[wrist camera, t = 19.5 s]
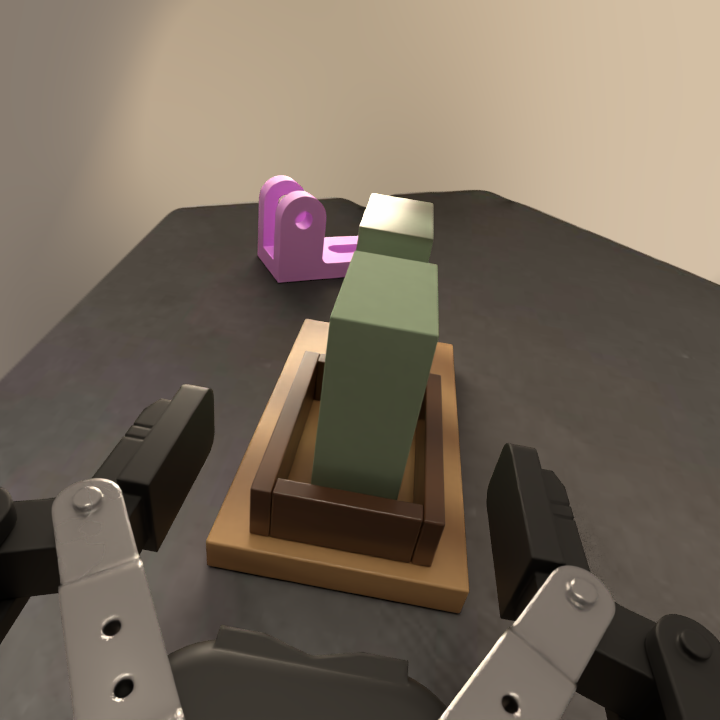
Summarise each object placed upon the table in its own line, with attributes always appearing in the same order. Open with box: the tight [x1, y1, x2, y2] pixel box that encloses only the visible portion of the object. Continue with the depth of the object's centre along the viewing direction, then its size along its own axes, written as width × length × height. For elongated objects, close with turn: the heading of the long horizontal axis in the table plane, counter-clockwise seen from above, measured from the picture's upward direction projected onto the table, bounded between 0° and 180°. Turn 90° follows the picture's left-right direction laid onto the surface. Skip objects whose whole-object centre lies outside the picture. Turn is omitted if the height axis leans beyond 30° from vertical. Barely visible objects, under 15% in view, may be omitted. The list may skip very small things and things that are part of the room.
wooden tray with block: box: [206, 193, 469, 613], centre depth 24 cm, size 18×10×10 cm, turn 173°
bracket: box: [258, 175, 358, 283], centre depth 44 cm, size 13×6×7 cm, turn 116°
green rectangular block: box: [311, 251, 439, 500], centre depth 21 cm, size 6×4×9 cm, turn 173°
